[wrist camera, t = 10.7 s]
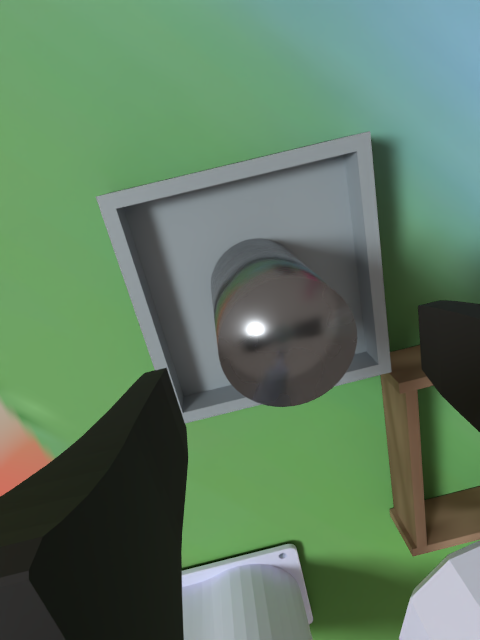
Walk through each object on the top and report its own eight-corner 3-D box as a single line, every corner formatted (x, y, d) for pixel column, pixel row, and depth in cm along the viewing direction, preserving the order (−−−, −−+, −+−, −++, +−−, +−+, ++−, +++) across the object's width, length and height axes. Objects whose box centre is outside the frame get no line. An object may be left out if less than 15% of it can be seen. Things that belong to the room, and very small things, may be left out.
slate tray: (176, 398, 22) (174, 425, 19) (109, 193, 18) (95, 196, 15) (370, 350, 22) (391, 371, 20) (347, 136, 18) (370, 131, 16)
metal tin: (222, 337, 20) (235, 420, 13) (200, 251, 18) (202, 297, 12) (308, 316, 20) (364, 388, 13) (294, 228, 18) (348, 261, 12)
